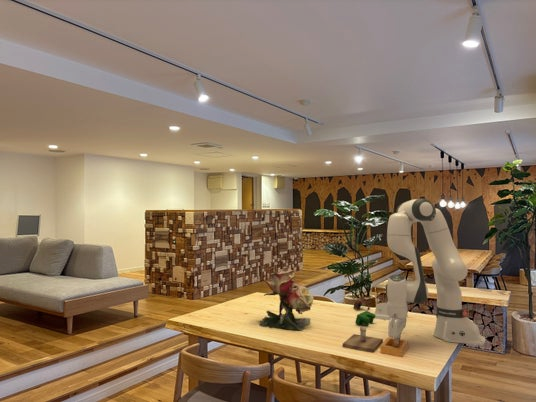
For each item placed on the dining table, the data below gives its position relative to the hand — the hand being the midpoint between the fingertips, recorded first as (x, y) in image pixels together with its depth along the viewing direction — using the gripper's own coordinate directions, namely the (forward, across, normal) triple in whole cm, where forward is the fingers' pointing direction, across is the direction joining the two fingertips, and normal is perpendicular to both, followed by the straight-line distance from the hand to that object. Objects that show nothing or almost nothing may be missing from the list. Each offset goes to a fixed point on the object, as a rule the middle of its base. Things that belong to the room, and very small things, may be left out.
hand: (397, 342), depth 179 cm
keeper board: (+2, -6, +14) cm, 15 cm away
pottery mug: (+2, +58, +34) cm, 68 cm away
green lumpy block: (+2, +27, +22) cm, 36 cm away
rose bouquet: (+2, +8, +59) cm, 60 cm away
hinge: (+2, +46, +14) cm, 48 cm away
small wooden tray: (+2, -6, 0) cm, 6 cm away
